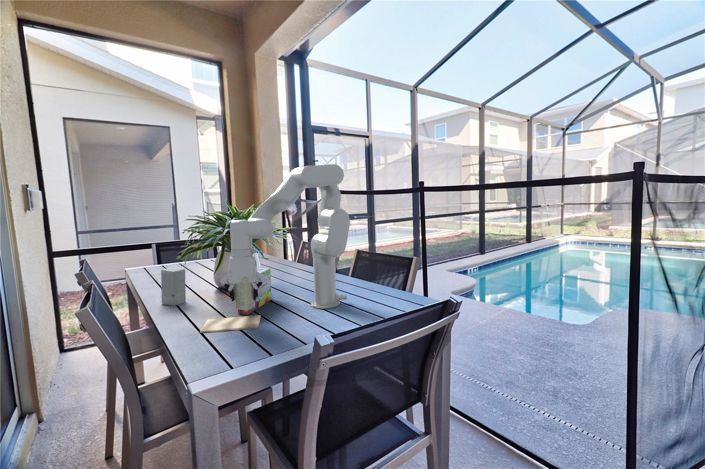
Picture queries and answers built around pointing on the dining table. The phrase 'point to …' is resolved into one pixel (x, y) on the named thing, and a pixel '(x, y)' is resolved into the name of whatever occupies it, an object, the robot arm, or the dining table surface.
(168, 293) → the skincare box
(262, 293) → the snack box
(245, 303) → the skincare box
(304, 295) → the dining table surface
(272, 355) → the dining table surface
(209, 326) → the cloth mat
